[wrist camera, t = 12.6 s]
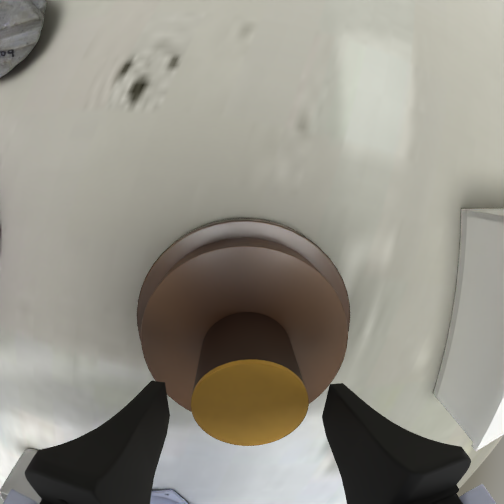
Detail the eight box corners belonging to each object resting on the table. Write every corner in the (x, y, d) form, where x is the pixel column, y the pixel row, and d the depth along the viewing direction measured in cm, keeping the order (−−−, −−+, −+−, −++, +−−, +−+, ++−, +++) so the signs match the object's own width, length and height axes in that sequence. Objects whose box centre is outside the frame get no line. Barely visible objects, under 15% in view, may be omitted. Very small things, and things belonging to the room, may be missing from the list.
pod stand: (195, 419, 22) (190, 450, 18) (108, 265, 19) (84, 281, 15) (361, 364, 21) (378, 390, 18) (309, 185, 18) (325, 185, 15)
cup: (17, 440, 23) (-11, 483, 14) (80, 464, 23) (56, 519, 14) (36, 471, 24) (15, 512, 15) (96, 494, 25) (79, 542, 16)
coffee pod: (240, 398, 17) (242, 458, 12) (183, 345, 16) (166, 401, 11) (307, 354, 17) (329, 410, 12) (253, 293, 16) (260, 340, 11)
